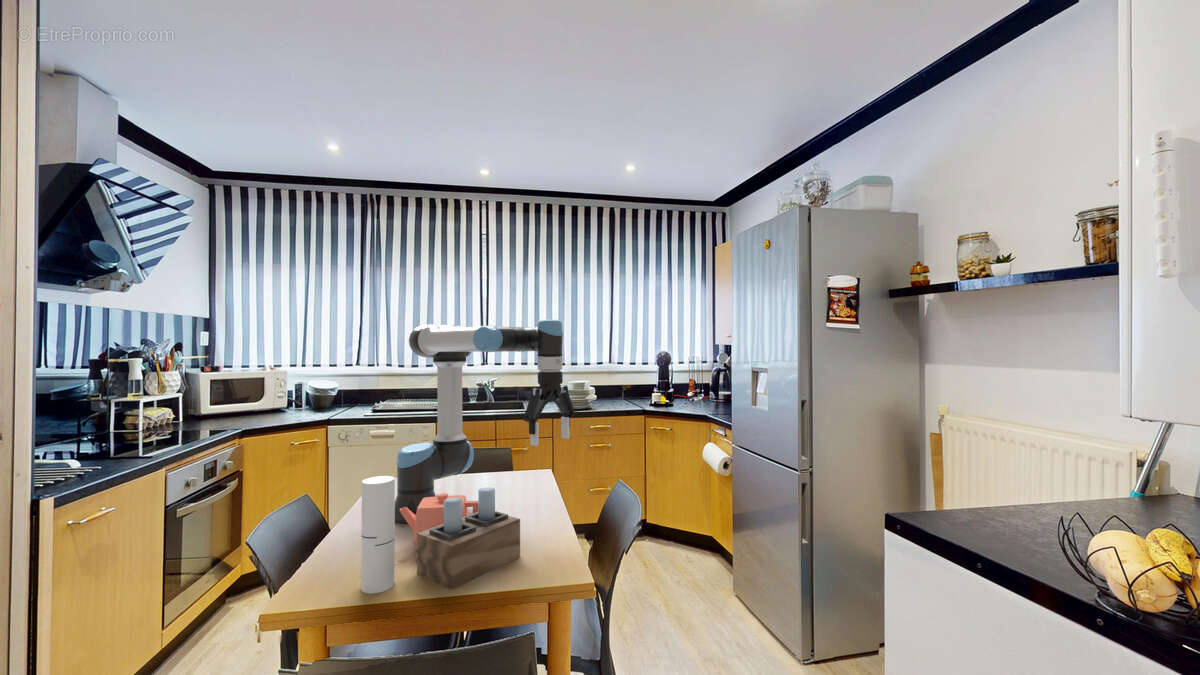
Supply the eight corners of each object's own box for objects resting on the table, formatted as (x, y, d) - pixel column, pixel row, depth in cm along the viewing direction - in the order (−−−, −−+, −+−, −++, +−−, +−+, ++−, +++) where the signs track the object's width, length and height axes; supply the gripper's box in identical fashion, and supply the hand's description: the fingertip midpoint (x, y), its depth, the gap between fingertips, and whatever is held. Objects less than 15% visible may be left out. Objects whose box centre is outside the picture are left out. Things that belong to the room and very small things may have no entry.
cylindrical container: (368, 579, 118) (368, 476, 119) (398, 578, 119) (398, 475, 119) (356, 594, 111) (356, 484, 112) (388, 592, 112) (388, 483, 112)
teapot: (394, 556, 132) (394, 503, 132) (404, 538, 144) (404, 490, 144) (478, 549, 136) (478, 498, 136) (480, 532, 148) (480, 486, 148)
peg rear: (474, 524, 130) (474, 490, 130) (487, 519, 134) (487, 486, 134) (486, 527, 128) (485, 493, 128) (498, 522, 131) (498, 489, 131)
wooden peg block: (416, 573, 121) (416, 529, 121) (485, 544, 139) (485, 505, 139) (452, 589, 113) (452, 541, 113) (520, 556, 131) (520, 515, 131)
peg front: (440, 537, 121) (440, 501, 122) (454, 531, 125) (454, 496, 125) (451, 541, 119) (451, 504, 119) (465, 535, 122) (465, 499, 123)
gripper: (529, 373, 134) (529, 450, 134) (585, 369, 154) (585, 436, 154) (510, 372, 139) (510, 447, 138) (567, 369, 159) (567, 434, 158)
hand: (550, 441), depth 146 cm, fingers open, 13 cm apart
